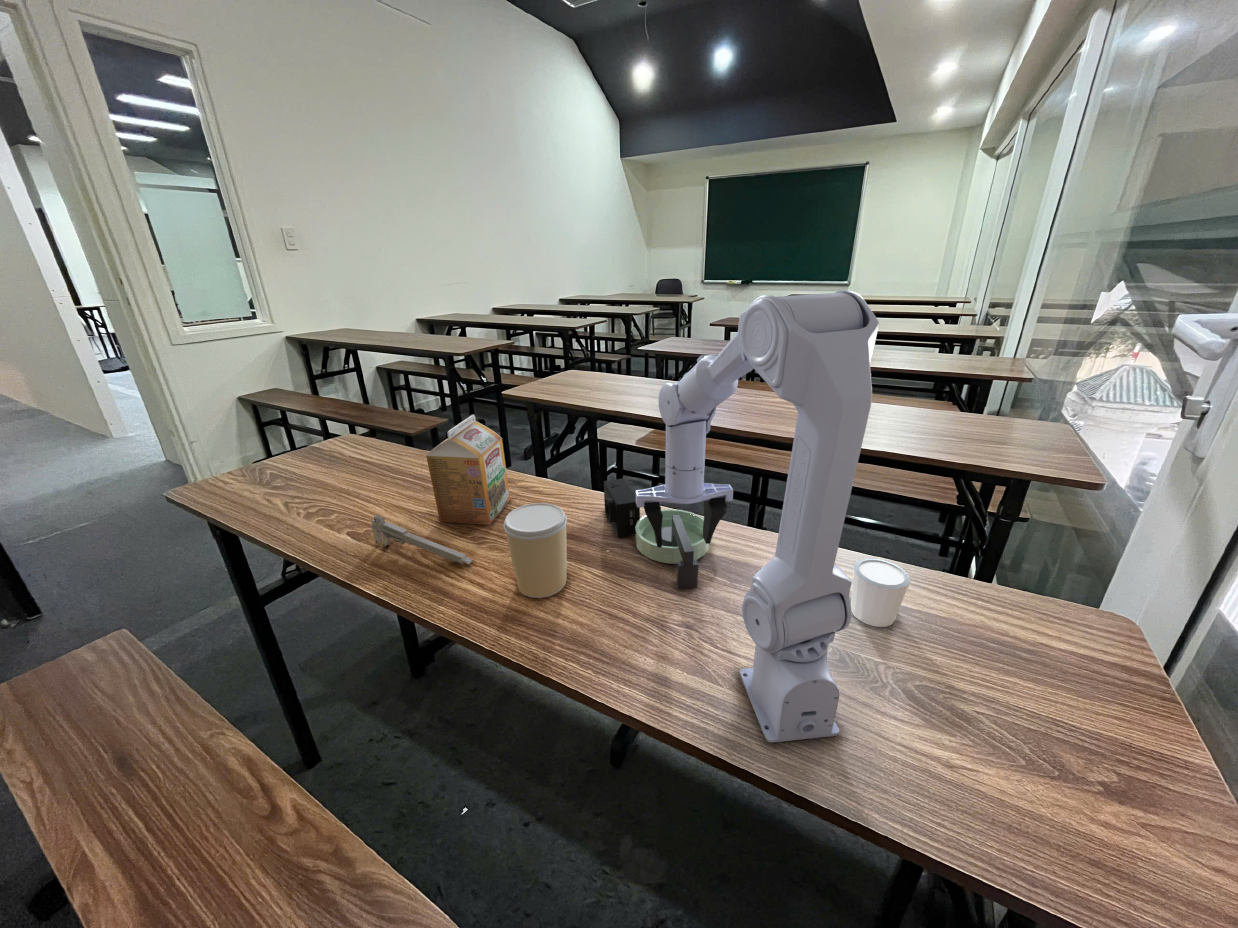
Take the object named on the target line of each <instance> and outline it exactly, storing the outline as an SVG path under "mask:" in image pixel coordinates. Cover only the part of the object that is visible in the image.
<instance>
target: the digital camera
mask: <svg viewBox="0 0 1238 928" xmlns="http://www.w3.org/2000/svg"><path fill="white" fill-rule="evenodd" d="M603 494H604V495H603V499H604V500H603V501H604V513H605V517H606V520H607V522H608V523H609V524H610V525H611V527H612V530H613V531H614V532H615V535H616V537H617V539H618V538H619V539H620V538H624V537H632V536H635V526H636V524H637V521H638V520H639V519H640V518H641V507H637V505H636V493H635V492H634V491H633V489H632V488H631V486H630V484H629V483H628V482H627V481H626V479H625V478H616V479H609V480H603Z"/></svg>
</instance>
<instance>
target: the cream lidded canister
mask: <svg viewBox="0 0 1238 928" xmlns="http://www.w3.org/2000/svg"><path fill="white" fill-rule="evenodd" d="M564 511H565V510H563V509H562V508H561V507H560V506H558V505H556V504H553V503H547V502H534V503H533V502H532V503H528V504H527V503H526V504H523V505H521V506H518V507H516V508H514V509H513V510H511V511H510V512H509V513H508V514H507V515H506V517H505V519H504V522H503V531H504V532H505V535H506V540H507V541H506V542H507V545H508V550H509V553H510V560H511V564H512V567H513V573H514V577H515V581H516V585H517V588H518V590H519V592H520V593H521V594H522V595H524V596H525V597H528V598H533V599H542V598H543V599H544V598H548V597H551V596H554V595H556V594H557V593H559V592H561V591H562V590H563V589H564V587H565V586H566V583H567V575H568V572H567V571H568V570H567V569H568V568H567V567H568V565H567V563H568V562H567V560H568V557H567V553H568V551H567V523H568V518H567V515H566V513H565V512H564Z"/></svg>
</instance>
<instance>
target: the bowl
mask: <svg viewBox="0 0 1238 928" xmlns="http://www.w3.org/2000/svg"><path fill="white" fill-rule="evenodd" d="M661 512H662V515H663V518H662V529H663V528H665V527H670V526H672V515H679V516H680V517H681V520H682V522H683V525H684V527H685V530H686V533H687V535H688V538H689V540H690V543H691V546H692V548H693V551H694V558H693V560H697V561H698V560H699V559H700V558H702V557H704V556H705V555H706V554H707V552H709V550H710V548H711V547H710V545H711V543H710V544H706V542H705V540H704V538H703V523H704V517H702V516H701V515H699V514H696V513H694V512H692V511H688V510H683V509H671V508H669V509H661ZM690 514H691V515H690ZM693 515H695V516H693ZM634 539H635V540H634V541H635V546H636V549H637V550H638V551H639V552H640V554H642V555H643V556H645V557H646V558H648V559H649V560H652V561H655V562H659V563H662V564H667V565H668V564H670V565H677V562H678V561H683V560H682V557H681V554H680V551H679V548H678V547H670V546H662V547H657V544H656V541H655V533H654V530H653V527H652V525H651V523H650V521H649V520H648V518H647V516H646V514H645V515H642V516H640V519H639V520H638V521H637V524H636V526H635V535H634Z"/></svg>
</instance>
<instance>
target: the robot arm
mask: <svg viewBox="0 0 1238 928" xmlns="http://www.w3.org/2000/svg"><path fill="white" fill-rule="evenodd" d="M737 325H738V326H737V332H736V333H735V334H734V335H733V337H732V338H731V339H729V342H728V343H727V344H726V345H725V346H724V347H723V348H722V349H721V351H720V352H719V353H718V355H717V354H704V355H700V356H699V357H698V358H697V359H696V362H697V363H696V364H695V365H693V367H692V368H691V369H690V370H689V371H688V372H685V373H684V374H683V376H682V378H681V379H680V380H679V381H678V382H676V383H673V382H665V383H663V384H662V386H661V388H660V390H659V393H658V409H659V410H658V411H659V414H660V417H661V419H662V421H663V423H664V424H665V456H664V457H665V460H664V461H665V463H664V465H665V467H664V469H665V473H664V484H661V485H656V486H652V487H649V488H643V489H637V490H635V495H636V505H637V507H640V508H643V509H644V513H645V515H646V516H647V518H648V520H649V521H650V523H651V525H652V527H653V530H654V533H655V541H656V544H657V547H662V532H661V530H662V518H663V515H662V512H661V510H662V506H661V505H662V504H679V505H680V504H681V505H690V504H696V503H700V502H703V519H704V523H703V538H704V540H705V542H706V544H710V545H711V541H712V539H713V536H714V533H715V531H716V529H717V527H718V525H719V524H720V521H721V520H722V518H724V517H725V515H726V514H727V511H728V504H727V503H726V502H733V499H734V488H733V487H732V485H731V484H729V483H725V484H724V483H723V484H722V483H711V482H709V483H707V482H705V467H706V466H705V465H706V462H705V461H706V447H707V446H706V445H707V435H708V434H709V433H710V431H711V423H712V420H713V419H714V417H715V414H716V412H717V407H718V406H719V405H721V404H722V403H724V402H725V401H726V400H728V399H729V398H731V396H732V395H734V394H735V393H736V391H737V388H738V385H739V379H740V378H742V377H743V376H745V375H747V374H749V372H751V371H753V370H755V372H756V374H758V375H759V376H760V377H761V379H763V381H764V382H765V383H766V384H767V385H768V387H769V388H770V389H771V390H772V391H773V392H774V393H775V394H776V395H777V396H778V398H779V399H781V400H784V401H786V402H789V403H791V404H793V406H794V408H795V409H796V412H797V417H796V423H795V429H794V436H793V441H792V442H793V443H792V448H791V453H790V460H789V467H788V472H787V478H786V484H785V491H784V497H783V504H782V510H781V516H780V521H779V522H780V523H779V528H778V535H777V541H776V547H775V553H774V556H773V557H772V558H771V559H770V560H769V561H768V562H766V564H765V565H763V567H761V568H760V569H759V570H758V571H757V572H756V573H755V574H754V575H753V576H752V578H751V584H750V588H749V590H748V591H747V592H746V593H745V595H744V597H743V601H742V606H741V614H742V620H743V623H744V626H745V629H746V632H747V633H748V635H749V637H750V638H751V640H752V641H753V642H754V643H755V646H754V647H755V648H754V657H753V664H752V665H753V666H752V667H745V668H741V669H739V677H740V679H741V682H742V684H743V687H744V690H745V692H746V694H747V697H748V699H749V701H750V704H751V707H752V709H753V711H754V714H755V717H756V718H757V719H756V720H757V721H758V724H759V726H760V729H761V732H762V734H763V736H764V739H765V740H766V742H767V743H771V744H772V743H779V742H780V743H781V742H791V741H801V740H811V739H819V738H827V737H828V738H829V737H836V736H839V735H840V728H839V726H838V725H837V723H836V721H835V719H836V715H837V709H838V705H839V699H840V690H839V686H838V685H837V683H836V681H835V679H834V677H833V675H832V673H831V669H830V667H829V660H828V648H829V646H830V644H832V643H833V642H835V636H836V633H838V632H841V631H844V630H846V629H847V628H848V627H849V625H850V623H851V620H852V615H853V613H852V612H851V597H850V594H851V593H850V592H851V589H852V583H853V581H852V580H851V579H850V577H848V575H847V574H846V573H845V571H844V570H843V569H842V568H841V567H839V566H838V565H837V564H836V563H835V562H836V560H837V559H836V558H837V554H838V550H839V547H840V542H841V538H842V537H841V536H842V533H843V530H844V529H843V528H844V524H845V520H846V516H847V510H848V508H849V507H848V506H849V502H850V499H851V495H852V489H853V486H854V481H855V476H856V474H857V473H856V472H857V468H858V463H859V459H860V456H861V455H860V454H861V451H862V446H863V441H864V438H865V434H866V430H867V425H868V421H869V416H870V411H871V407H872V401H873V386H872V373H871V372H872V371H871V363H872V357H873V353H874V350H875V349H874V348H875V344H876V339H877V335H878V331H879V327H880V321H879V319H878V318H877V317H876V314H874V312H873V310H872V309H871V307H870V306H869V305H868V303H867V302H866V300H865V299H864V298H863V297H862V296H861V295H860V294H859V293H857V292H855V291H852V290H848V289H847V290H846V289H845V290H837V291H835V292H828V293H826V292H825V293H813V294H811V293H810V294H796V295H781V296H780V295H779V296H774V295H761V296H758V297H756V298H755V299H753V301H752V302H750V304H749V306H748V307H747V309H744V311H741V312H740V314H739V319H738V324H737Z"/></svg>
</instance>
